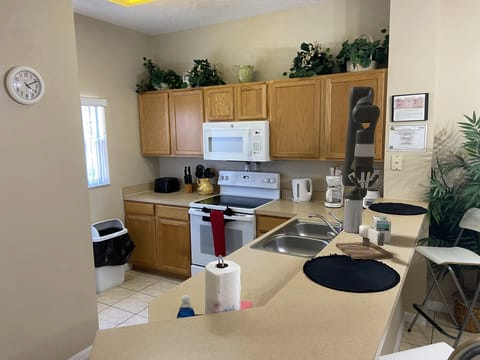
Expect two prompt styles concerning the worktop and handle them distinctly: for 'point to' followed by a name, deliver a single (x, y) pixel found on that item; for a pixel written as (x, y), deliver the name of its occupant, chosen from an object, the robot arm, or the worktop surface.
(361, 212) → the robot arm
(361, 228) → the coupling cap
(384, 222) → the light bulb box
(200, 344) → the worktop surface
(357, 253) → the base
